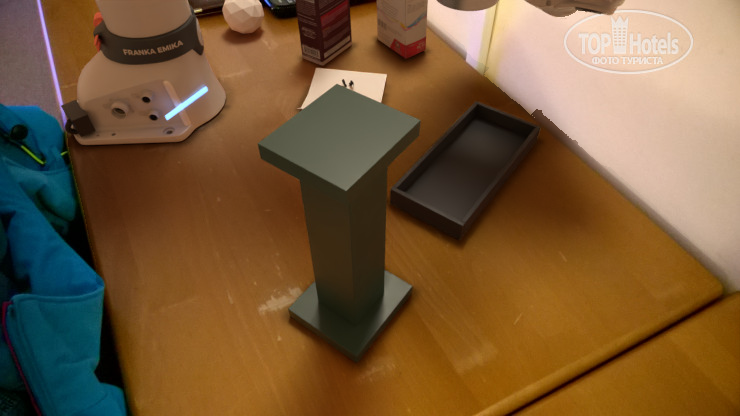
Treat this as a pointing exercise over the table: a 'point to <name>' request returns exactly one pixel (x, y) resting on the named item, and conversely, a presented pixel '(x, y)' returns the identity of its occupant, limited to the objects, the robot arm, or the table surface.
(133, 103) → the robot arm
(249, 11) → the ornament
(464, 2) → the scoop
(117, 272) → the table surface
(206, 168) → the table surface
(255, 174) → the table surface
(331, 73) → the folded paper
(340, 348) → the stand
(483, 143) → the tray
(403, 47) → the ink box
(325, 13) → the supplement box
